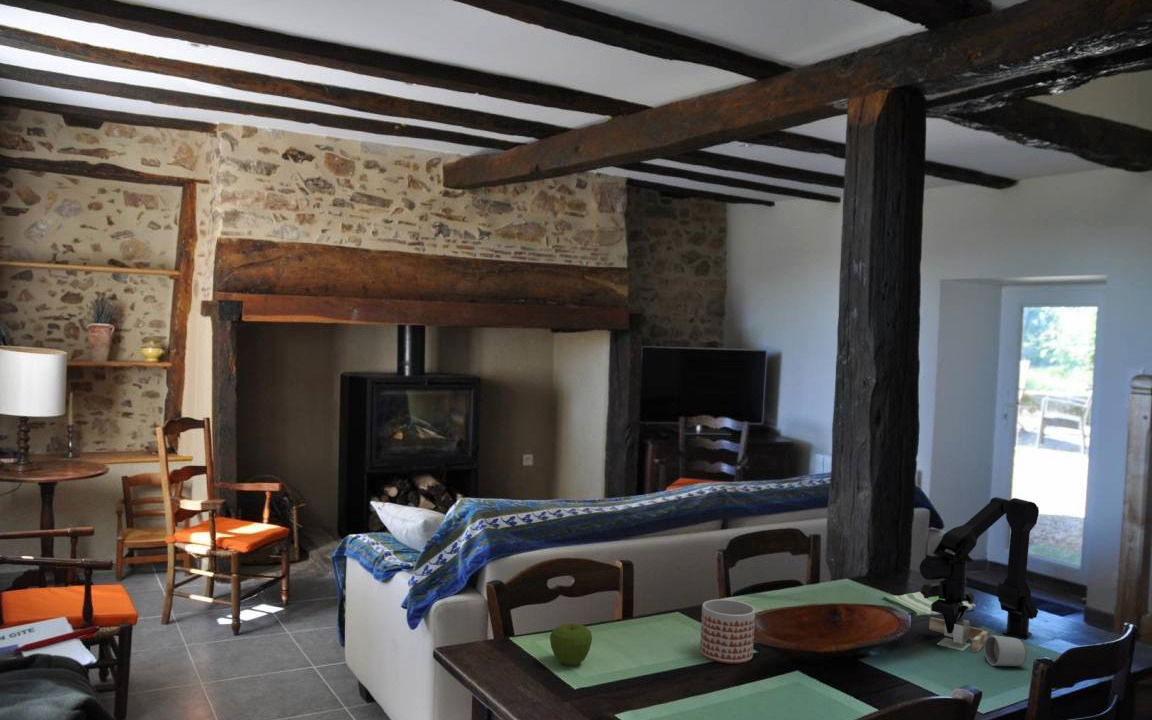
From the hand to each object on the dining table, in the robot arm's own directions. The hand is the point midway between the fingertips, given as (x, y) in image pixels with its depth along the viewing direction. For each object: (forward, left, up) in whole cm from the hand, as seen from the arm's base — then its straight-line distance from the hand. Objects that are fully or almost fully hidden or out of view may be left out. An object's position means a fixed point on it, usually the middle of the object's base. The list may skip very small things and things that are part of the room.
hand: (951, 632), depth 257 cm
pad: (+2, +2, -3) cm, 4 cm away
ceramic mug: (+7, +15, -3) cm, 17 cm away
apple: (+92, -63, -3) cm, 112 cm away
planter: (+57, -39, -3) cm, 69 cm away
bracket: (+2, +2, -1) cm, 3 cm away
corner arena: (-2, 0, -3) cm, 3 cm away
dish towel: (-31, -17, -4) cm, 35 cm away
